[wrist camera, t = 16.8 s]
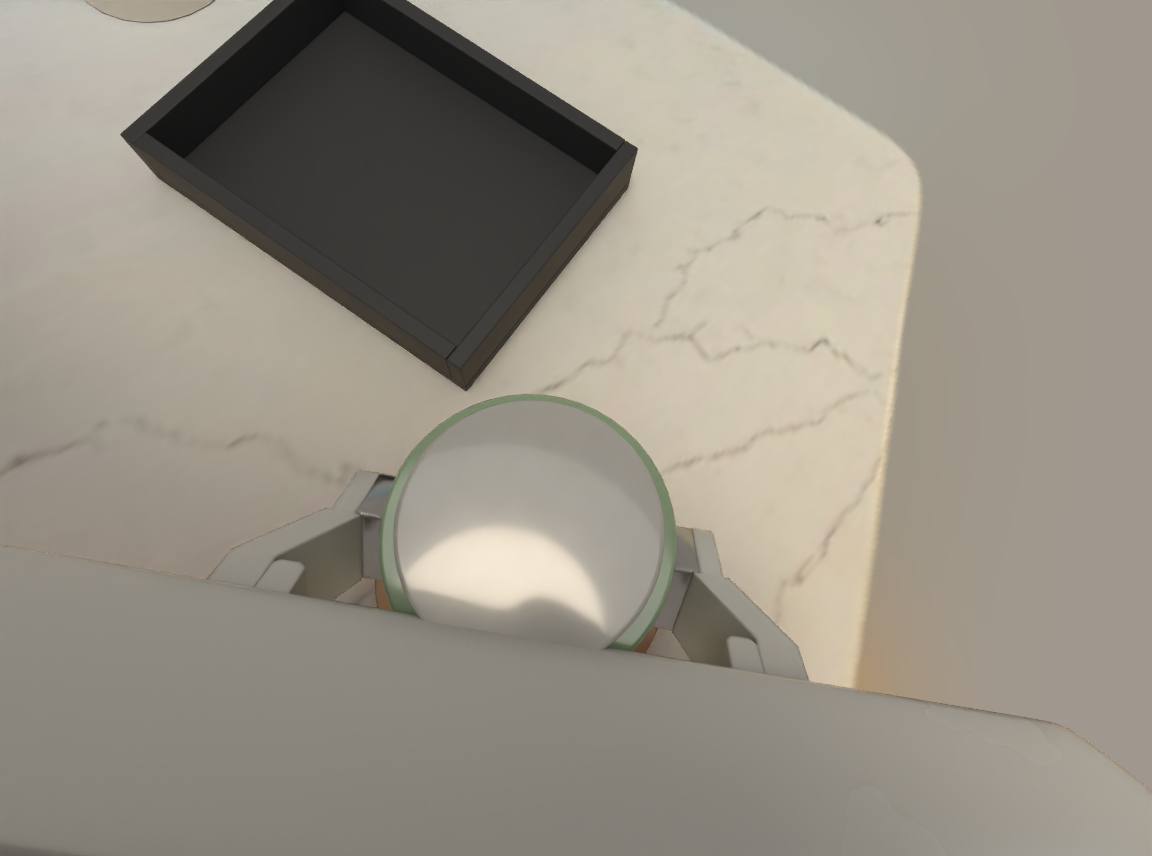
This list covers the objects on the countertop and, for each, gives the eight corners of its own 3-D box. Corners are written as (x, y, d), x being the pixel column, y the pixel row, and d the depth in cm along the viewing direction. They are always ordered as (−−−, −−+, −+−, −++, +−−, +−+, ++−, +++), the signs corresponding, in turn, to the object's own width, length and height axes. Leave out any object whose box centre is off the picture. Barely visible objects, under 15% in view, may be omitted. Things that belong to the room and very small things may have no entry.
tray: (157, 177, 31) (119, 134, 28) (345, 4, 35) (329, -50, 32) (466, 391, 30) (460, 369, 27) (628, 187, 34) (638, 148, 31)
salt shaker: (416, 519, 20) (310, 447, 10) (567, 451, 21) (606, 325, 11) (483, 680, 19) (438, 779, 9) (639, 601, 20) (755, 609, 10)
